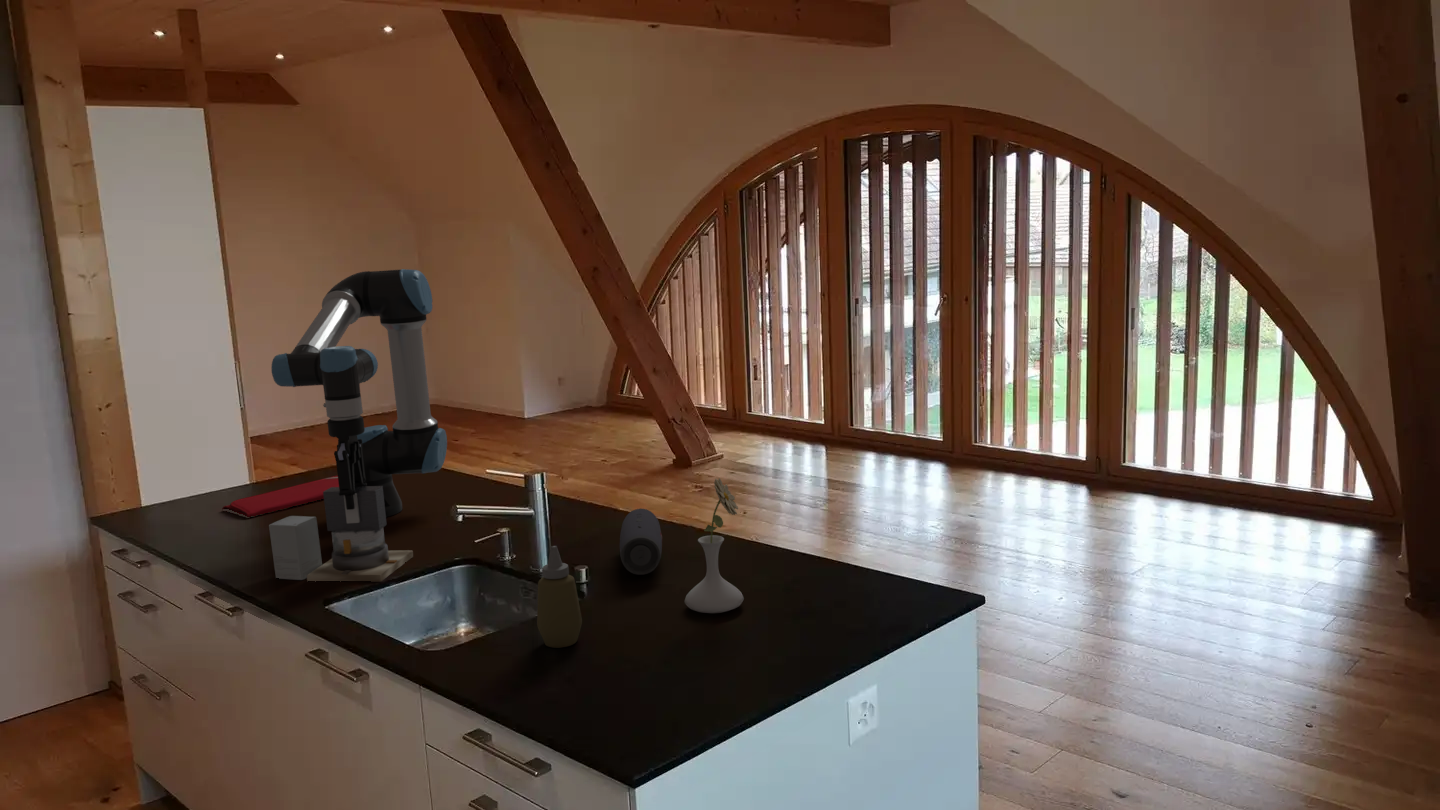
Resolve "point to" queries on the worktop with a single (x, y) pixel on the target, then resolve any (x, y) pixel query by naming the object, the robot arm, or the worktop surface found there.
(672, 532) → the worktop surface
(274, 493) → the dish drying mat
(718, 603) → the flower in vase
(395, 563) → the post board
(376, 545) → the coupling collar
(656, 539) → the bluetooth speaker
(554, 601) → the squeeze bottle
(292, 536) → the supplement box
